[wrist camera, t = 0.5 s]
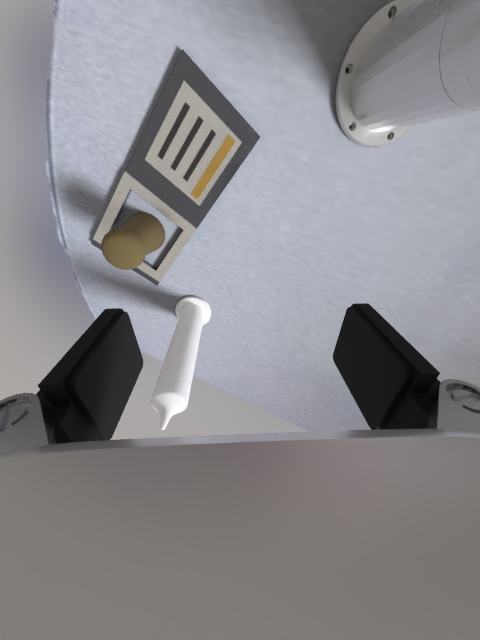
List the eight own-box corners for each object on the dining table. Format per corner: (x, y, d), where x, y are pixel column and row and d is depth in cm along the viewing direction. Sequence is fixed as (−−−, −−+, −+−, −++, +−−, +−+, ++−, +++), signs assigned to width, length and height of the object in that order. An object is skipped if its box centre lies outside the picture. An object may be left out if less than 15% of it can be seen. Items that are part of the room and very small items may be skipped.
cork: (170, 225, 37) (150, 244, 28) (157, 257, 40) (135, 284, 31) (133, 204, 35) (98, 218, 26) (122, 239, 38) (88, 262, 29)
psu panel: (183, 52, 26) (182, 48, 25) (259, 137, 31) (260, 136, 30) (93, 242, 38) (90, 243, 37) (158, 283, 42) (156, 286, 42)
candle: (201, 330, 49) (178, 450, 28) (170, 315, 47) (120, 435, 26) (217, 306, 46) (205, 423, 25) (185, 289, 43) (142, 402, 23)
